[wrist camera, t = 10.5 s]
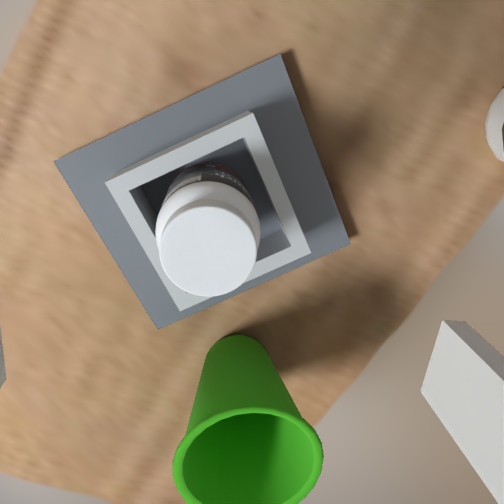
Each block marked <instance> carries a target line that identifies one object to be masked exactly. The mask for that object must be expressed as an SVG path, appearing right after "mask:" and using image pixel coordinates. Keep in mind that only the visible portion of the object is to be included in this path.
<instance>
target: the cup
mask: <svg viewBox="0 0 504 504" xmlns="http://www.w3.org/2000/svg"><path fill="white" fill-rule="evenodd" d="M323 457H324V456H323V449H322V443H321V441H320V439H319V437H318V435H317V433H316V431H315V430H314V428H313V427H312V426H311V425H310V424H309V423H308V422H307V421H306V420H305V419H303V418H302V416H301V415H300V413H299V411H298V409H297V407H296V405H295V403H294V402H293V400H292V398H291V396H290V394H289V392H288V390H287V389H286V387H285V385H284V383H283V381H282V379H281V377H280V376H279V374H278V372H277V370H276V368H275V366H274V364H273V363H272V361H271V359H270V357H269V355H268V353H267V351H266V350H265V348H264V347H263V346H262V345H261V343H260V342H258V341H256V340H255V339H253V338H251V337H248V336H245V335H231V336H228V337H225V338H223V339H221V340H219V341H218V342H217V343H216V344H215V345H213V347H211V349H210V350H209V352H208V353H207V356H206V359H205V363H204V367H203V370H202V374H201V378H200V382H199V386H198V389H197V393H196V397H195V401H194V405H193V408H192V412H191V416H190V420H189V424H188V427H187V431H186V435H185V437H184V438H183V440H182V441H181V443H180V444H179V446H178V447H177V450H176V453H175V456H174V460H173V478H174V481H175V484H176V487H177V490H178V491H179V493H180V494H181V496H182V497H183V498H184V500H185V501H186V502H187V504H298V503H299V502H300V501H302V500H303V499H304V498H305V497H306V496H307V494H309V492H310V491H311V490H312V489H313V487H314V486H315V484H316V482H317V480H318V478H319V476H320V474H321V470H322V463H323Z"/></svg>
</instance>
